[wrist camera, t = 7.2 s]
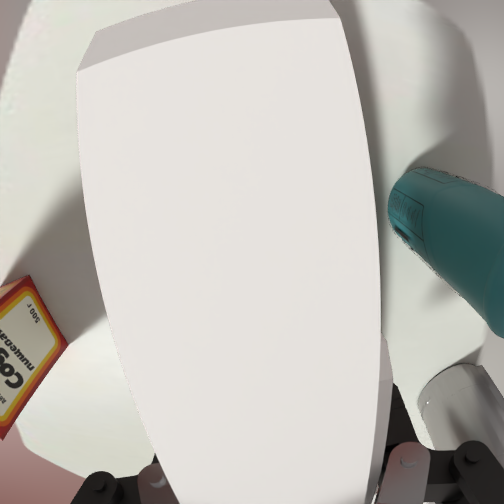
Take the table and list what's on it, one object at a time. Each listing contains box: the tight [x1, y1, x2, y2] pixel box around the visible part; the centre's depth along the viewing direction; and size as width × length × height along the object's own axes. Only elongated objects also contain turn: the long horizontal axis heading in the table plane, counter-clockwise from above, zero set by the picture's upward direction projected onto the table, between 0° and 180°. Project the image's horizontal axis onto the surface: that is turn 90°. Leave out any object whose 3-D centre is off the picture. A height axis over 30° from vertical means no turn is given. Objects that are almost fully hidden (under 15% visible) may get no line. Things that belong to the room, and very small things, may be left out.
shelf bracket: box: [76, 0, 393, 504], centre depth 11 cm, size 6×25×13 cm, turn 8°
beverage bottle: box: [388, 167, 504, 338], centre depth 16 cm, size 6×7×20 cm
